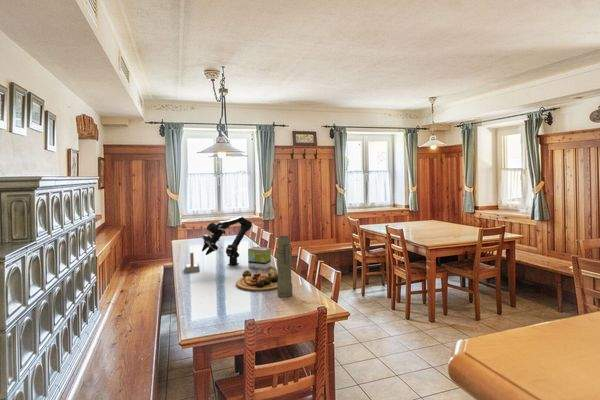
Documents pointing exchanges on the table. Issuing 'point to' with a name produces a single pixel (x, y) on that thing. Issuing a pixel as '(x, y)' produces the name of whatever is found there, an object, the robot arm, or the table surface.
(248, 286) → the wooden plate with food
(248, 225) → the robot arm
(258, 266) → the tea box
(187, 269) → the box
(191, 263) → the cover plate
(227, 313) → the table surface
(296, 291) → the table surface
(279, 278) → the grey-green tall block
